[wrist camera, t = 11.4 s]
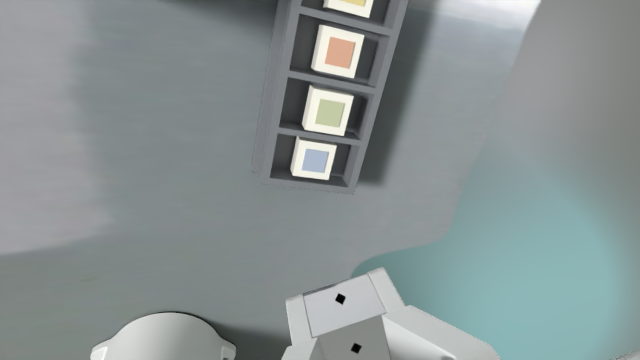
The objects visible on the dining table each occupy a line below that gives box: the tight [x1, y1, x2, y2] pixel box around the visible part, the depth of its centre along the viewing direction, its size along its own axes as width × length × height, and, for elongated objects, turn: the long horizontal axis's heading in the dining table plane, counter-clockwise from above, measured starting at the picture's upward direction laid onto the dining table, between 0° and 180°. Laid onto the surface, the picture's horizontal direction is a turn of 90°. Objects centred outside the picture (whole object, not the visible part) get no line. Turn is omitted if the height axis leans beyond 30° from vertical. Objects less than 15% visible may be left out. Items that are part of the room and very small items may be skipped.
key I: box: [302, 85, 354, 136], centre depth 35 cm, size 4×4×2 cm
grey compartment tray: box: [252, 0, 409, 195], centre depth 36 cm, size 23×12×5 cm, turn 167°
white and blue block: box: [290, 136, 337, 180], centre depth 38 cm, size 4×4×2 cm
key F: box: [311, 25, 364, 78], centre depth 34 cm, size 4×4×2 cm
